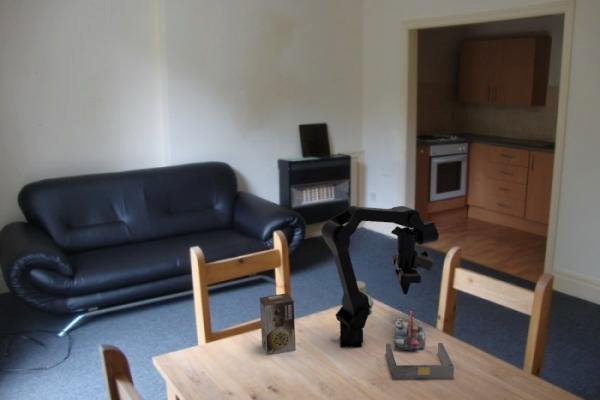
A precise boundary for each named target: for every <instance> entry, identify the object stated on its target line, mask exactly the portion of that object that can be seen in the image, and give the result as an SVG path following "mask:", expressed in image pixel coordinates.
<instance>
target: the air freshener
mask: <svg viewBox="0 0 600 400" xmlns="http://www.w3.org/2000/svg"><path fill="white" fill-rule="evenodd" d="M356 281H357V285H358V288H359V291H361V292H362V293H364V294H365V295H367V296H368V299H369V305H370V306H371V308H369V309H370V311H371V310H372V309H373V306H374V301H373V299H372V297H371V296H370V295H369V294H367V285H366V283H365V282H364V281H360V280H356ZM340 304H341V305H342V300H341V303H340Z"/></svg>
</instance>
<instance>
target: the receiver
mask: <svg viewBox="0 0 600 400" xmlns="http://www.w3.org/2000/svg"><path fill="white" fill-rule="evenodd" d="M393 352H394V351H393V349H392V345H391V343H385V356H386V360H387V365H388V368H389V371H390V375H391V379H392V380H441V379H442V380H451V379H452V380H453V379H454V374H455V367H454V364H453V362H452V360H451V358H450V356H449V353H448V351H447V350H446V347H445V345H444V344H443V343H442V342H438V343H437V356H438V358H439V359H440V362H441V364H409V365H408V364H407V365H406V364H405V365H402V364H400V365H399V364H398V365H397V363H396V359H395V356H394V353H393Z"/></svg>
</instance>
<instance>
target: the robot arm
mask: <svg viewBox="0 0 600 400" xmlns="http://www.w3.org/2000/svg"><path fill="white" fill-rule="evenodd" d="M362 222H372V223H373V222H374V223H375V222H376V223H377V222H378V223H388V224H389V223H392V224H394V225H398V226H395V228H394V229H392V230H391V234H392V235H395V236H397V237H396V240H397V243H396V248H395V252H396V254H394V255H393V256H392V257H391V264H392V265H393V266H396V267H397V269H394V273H395V275H396V277H397V280H398V282H399V285H400V288H401V292H402V294H404V295H408V292H409V289H410V286H411V284H421V283H422V275H421V274H420V272H419V271H418V270H417V269H419V268H421V269H424V270H427V271H429V272H432V269H433V266H434V264H435V260H434V259H433V258H432V257H431V256H429V253H428V251H427V250H423V249H422V250H421V251H420V252H418V251H417V248H416V247H417V245H418V246H423V245H427V244H433V243H437V242H438V241H439V237H440V233H439V231H438V229H437V227H436V226H435V223H436V222H434V221H431V220H428V221H425V222H423V220H422V218H421V215H420V213H419V210H416V209H414V208H410V207H408V206H405V205H399V206H394V207H391V208H383V207H382V208H380V207H368V206H365V207H364V206H357V205H351V206H349V207H347V209H346V210H344V211H343V212H341V213H339V214H337V215H335V216H334V217H332V218H331V219H330V220H328V221H326V222H325V223H324V224H323V226H322V228H321V230H320V232H321V236H322V237H323V239H324V242H325V243H326V245H327V246H328V248H329V249H330V250H331V252H332V256H333V258H334V263H335V266H336V269H337V274H338V276H339V280H340V284H341V287H342V291H343V295H342V298H341V301H342V304H341V307H340V309H338V311H337V312H335V319H336V320H337V322H339V346H340V348H362V347H363V342H364V328H365V327H366V323H367V320H368V317H369V316H370V313H371V310H370V309H369V308H371V306H370V305H369V299H368V296H369V295H368V294H367V295H368V296H367V295H365V294H364V293H362V292H361V291H359V288H358V285H357V281H358V280H357V278H356V277H357V276H356V274H355V271H354V270H355V269H354V267H353V263H352V259H351V256H350V255H351V254H350V251H349V250H350V245H351V236H352V235H354V233H355V232H356V231H357V229H358V227H359V225H360V224H361V223H362ZM400 226H401V227H400ZM371 309H372V308H371Z"/></svg>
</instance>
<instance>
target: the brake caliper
mask: <svg viewBox="0 0 600 400" xmlns="http://www.w3.org/2000/svg"><path fill="white" fill-rule="evenodd" d="M395 320H396V321H395V324H394V327H393V330H394V336H393V337H394V338H395V339H393V340H392V342H393V343H394V344H396V345H397V346H398V347H399V348H400V349H401V350H403V351H412V350H414V351H419V350H423V348H424V347H425V345H426V343H425V341H426V333H425V331H424V328H423V326H422V325H418V326H417V327H418V328H414V325H413V323H414V321H413V311H412V310H410V312H409V321H403V319H402V318H399V319H398V318H396V319H395Z"/></svg>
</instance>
